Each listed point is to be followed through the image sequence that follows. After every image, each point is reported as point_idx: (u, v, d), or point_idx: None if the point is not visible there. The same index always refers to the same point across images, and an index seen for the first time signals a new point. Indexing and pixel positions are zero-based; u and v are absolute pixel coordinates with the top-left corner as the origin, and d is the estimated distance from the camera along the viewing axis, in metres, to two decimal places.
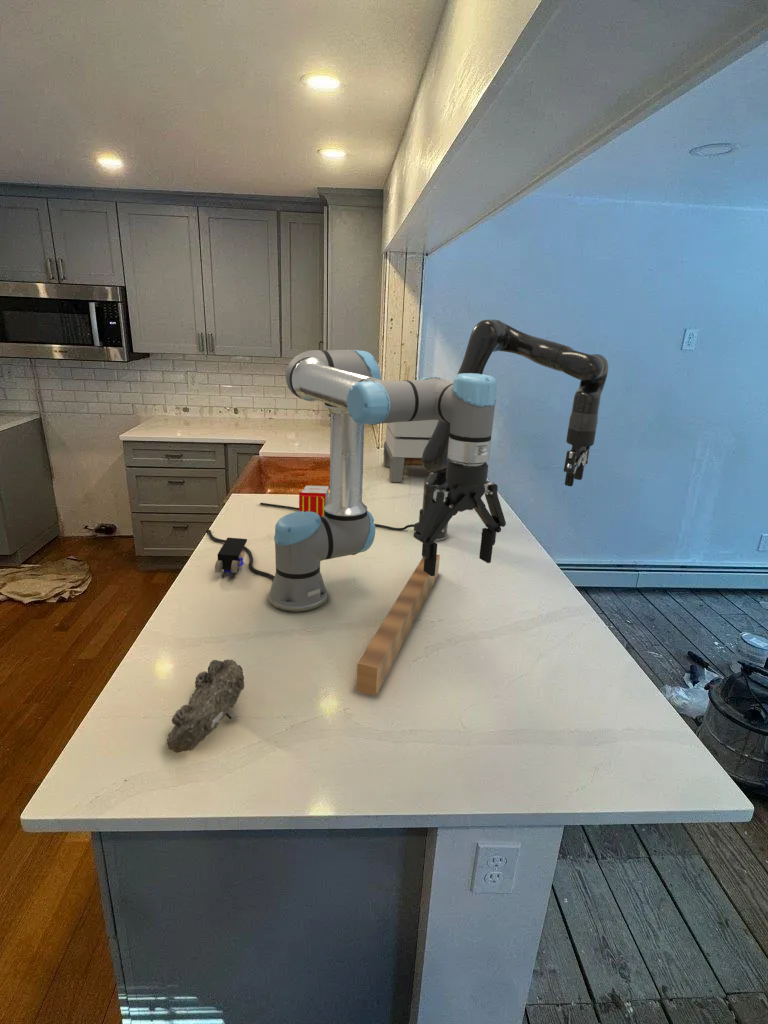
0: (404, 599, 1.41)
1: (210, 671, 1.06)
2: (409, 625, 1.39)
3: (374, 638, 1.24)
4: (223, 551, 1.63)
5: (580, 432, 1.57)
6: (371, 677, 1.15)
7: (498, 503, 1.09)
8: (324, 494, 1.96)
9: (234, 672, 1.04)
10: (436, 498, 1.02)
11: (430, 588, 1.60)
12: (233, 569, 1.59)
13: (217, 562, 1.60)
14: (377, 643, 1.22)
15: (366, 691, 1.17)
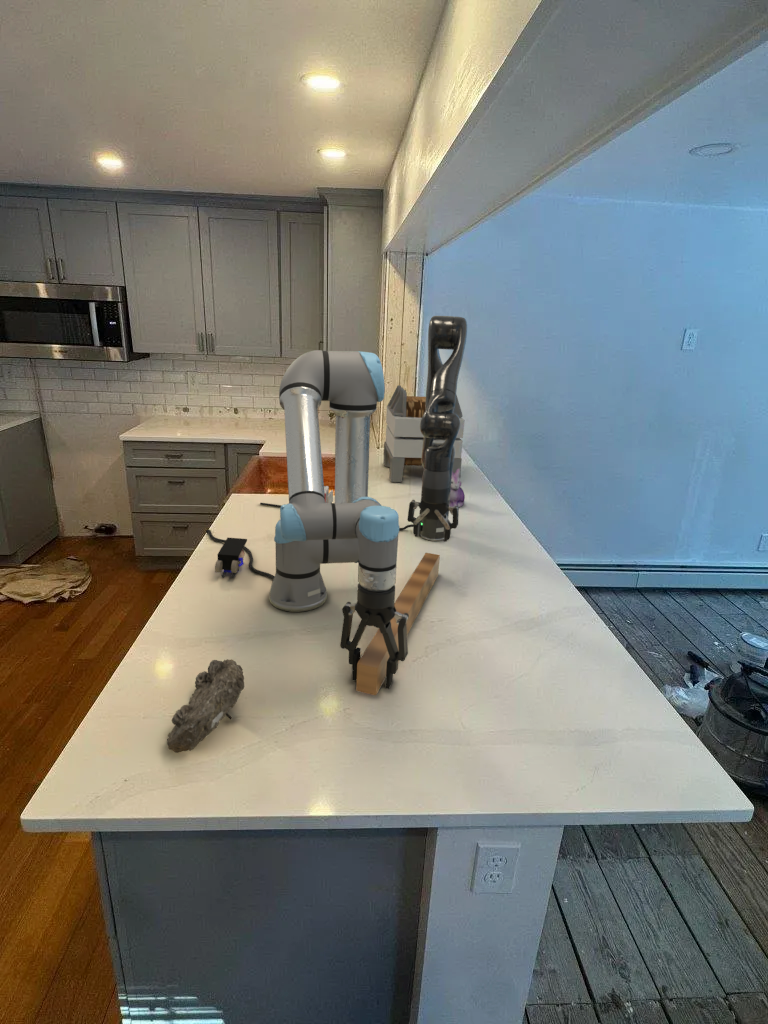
0: (404, 599, 1.41)
1: (210, 671, 1.06)
2: (409, 625, 1.39)
3: (374, 638, 1.24)
4: (223, 551, 1.63)
5: (448, 487, 1.57)
6: (371, 677, 1.15)
7: (402, 637, 1.13)
8: None
9: (234, 672, 1.04)
10: None
11: (430, 588, 1.60)
12: (233, 569, 1.59)
13: (217, 562, 1.60)
14: (377, 643, 1.22)
15: (366, 691, 1.17)
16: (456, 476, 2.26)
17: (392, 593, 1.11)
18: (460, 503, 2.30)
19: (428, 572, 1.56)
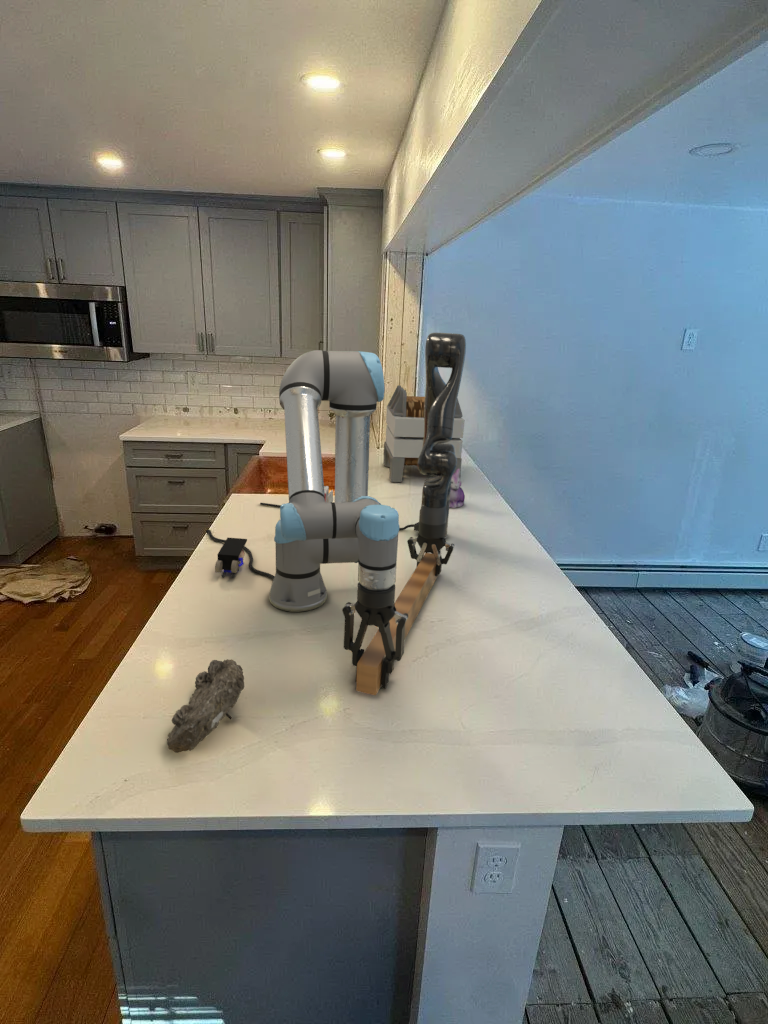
0: (404, 599, 1.41)
1: (210, 671, 1.06)
2: (409, 625, 1.39)
3: (374, 638, 1.24)
4: (223, 551, 1.63)
5: (445, 522, 1.60)
6: (371, 677, 1.15)
7: (400, 637, 1.13)
8: None
9: (234, 672, 1.04)
10: None
11: (430, 588, 1.60)
12: (233, 569, 1.59)
13: (217, 562, 1.60)
14: (377, 643, 1.22)
15: (366, 691, 1.17)
16: (456, 476, 2.26)
17: (392, 592, 1.11)
18: (460, 503, 2.30)
19: (428, 572, 1.56)
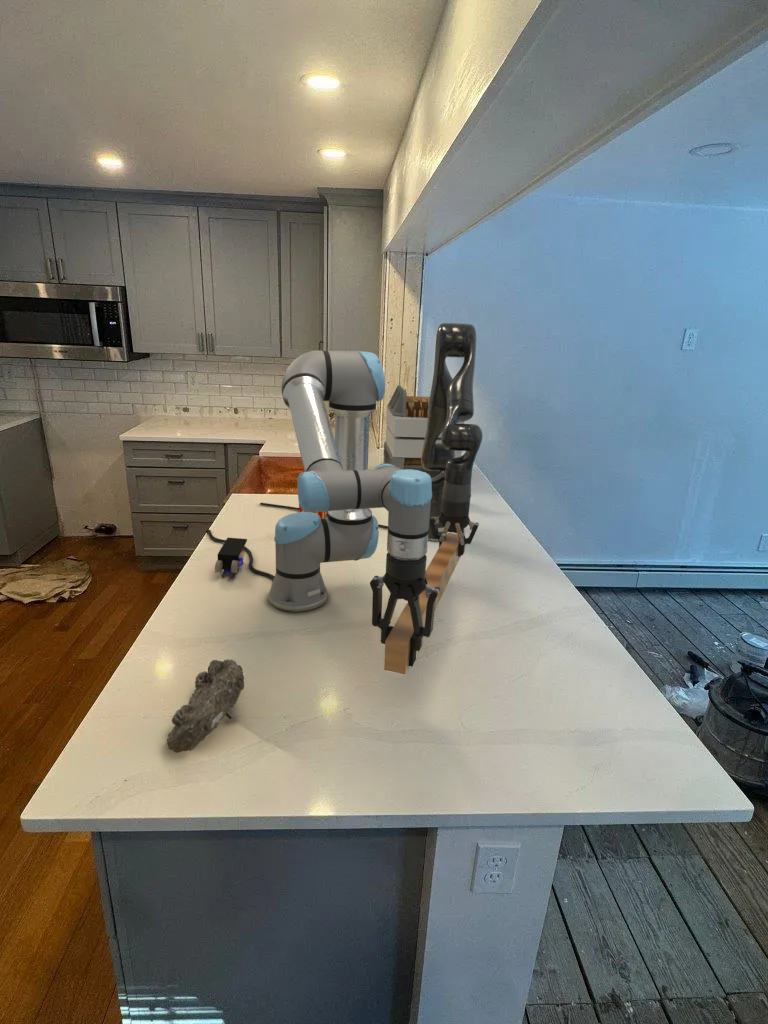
0: (429, 578, 1.34)
1: (210, 671, 1.06)
2: (435, 604, 1.32)
3: (401, 615, 1.17)
4: (223, 551, 1.63)
5: None
6: (400, 655, 1.08)
7: (430, 611, 1.06)
8: None
9: (234, 672, 1.04)
10: None
11: (453, 569, 1.54)
12: (233, 569, 1.59)
13: (217, 562, 1.60)
14: (405, 621, 1.15)
15: (395, 670, 1.10)
16: None
17: (424, 563, 1.04)
18: None
19: (452, 551, 1.50)
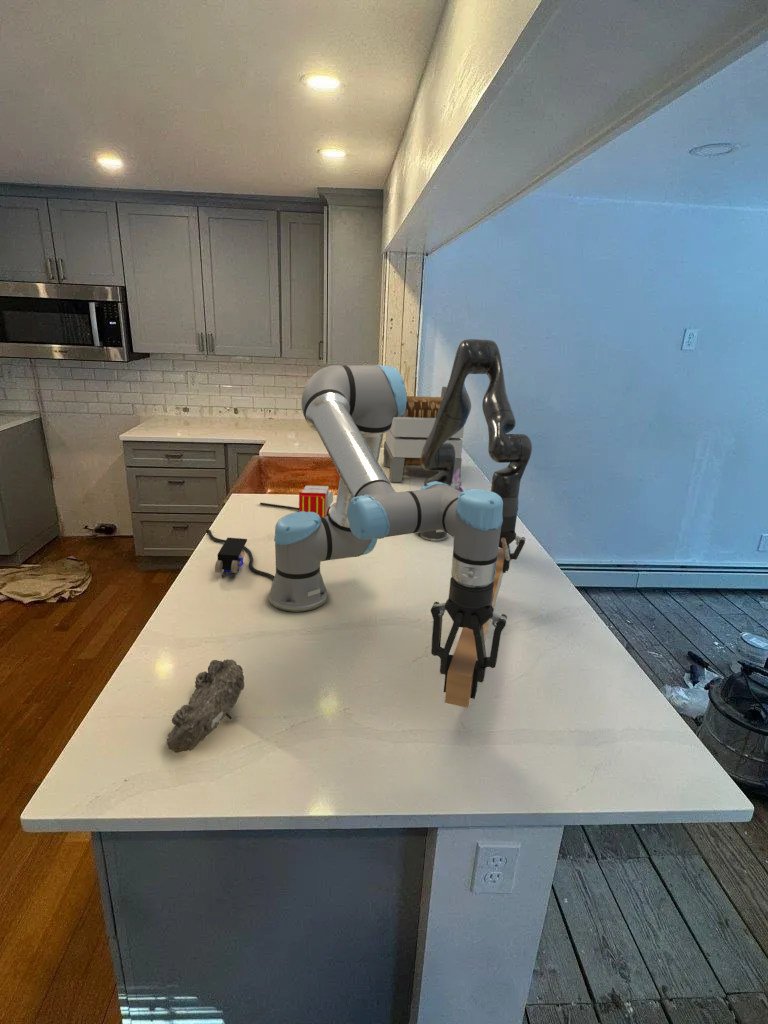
0: None
1: (210, 671, 1.06)
2: (488, 627, 1.25)
3: (459, 642, 1.10)
4: (223, 551, 1.63)
5: None
6: (464, 687, 1.01)
7: (497, 641, 0.99)
8: (324, 494, 1.96)
9: (234, 672, 1.04)
10: None
11: (499, 586, 1.46)
12: (233, 569, 1.59)
13: (217, 562, 1.60)
14: (465, 648, 1.08)
15: (456, 703, 1.02)
16: (456, 476, 2.26)
17: (492, 590, 0.97)
18: None
19: (499, 568, 1.42)
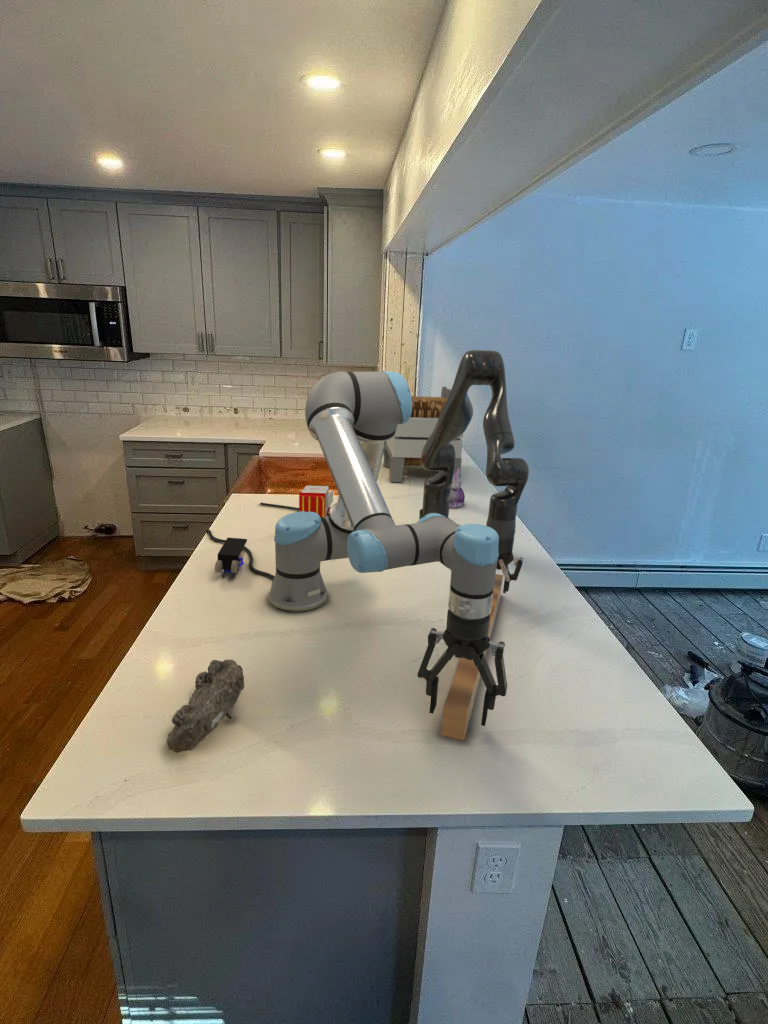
0: None
1: (210, 671, 1.06)
2: None
3: (456, 674, 1.13)
4: (223, 551, 1.63)
5: None
6: (460, 721, 1.04)
7: (500, 669, 1.01)
8: (324, 494, 1.96)
9: (234, 672, 1.04)
10: None
11: (496, 612, 1.49)
12: (233, 569, 1.59)
13: (217, 562, 1.60)
14: (461, 681, 1.11)
15: (453, 736, 1.05)
16: (456, 476, 2.26)
17: (488, 622, 0.99)
18: (460, 503, 2.30)
19: (496, 595, 1.45)
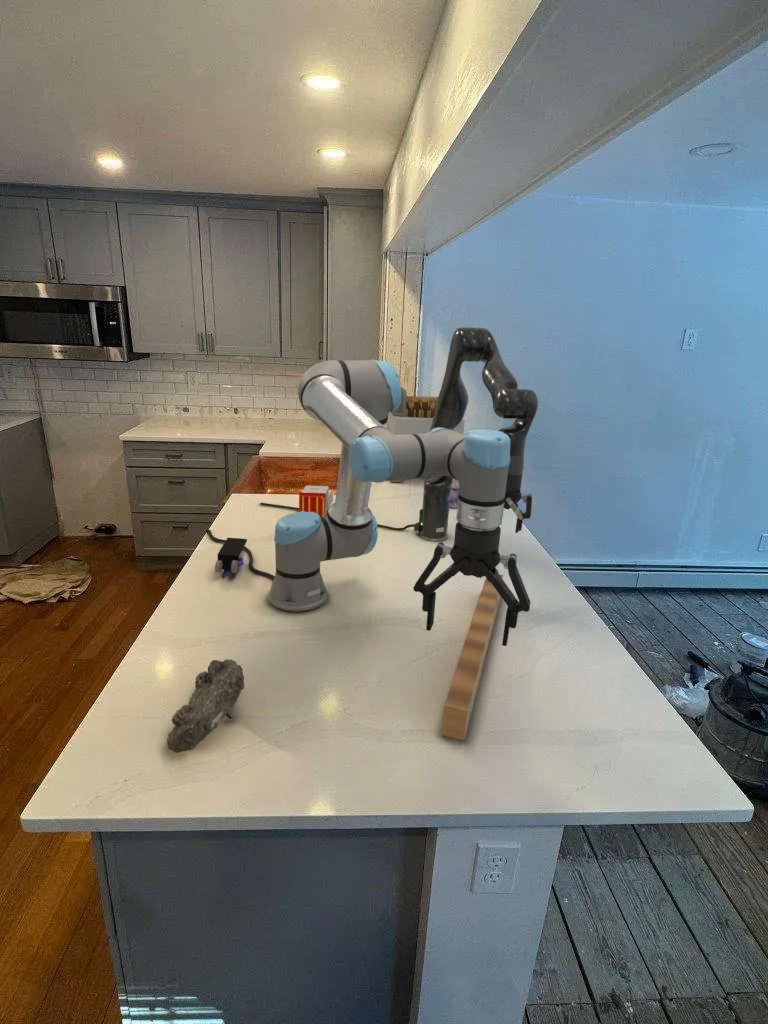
0: (477, 628, 1.30)
1: (210, 671, 1.06)
2: (484, 656, 1.28)
3: (456, 674, 1.13)
4: (223, 551, 1.63)
5: (522, 473, 1.42)
6: (460, 721, 1.04)
7: (517, 582, 0.94)
8: (324, 494, 1.96)
9: (234, 672, 1.04)
10: None
11: (496, 612, 1.49)
12: (233, 569, 1.59)
13: (217, 562, 1.60)
14: (461, 681, 1.11)
15: (453, 736, 1.05)
16: None
17: (499, 534, 0.93)
18: None
19: (496, 595, 1.45)
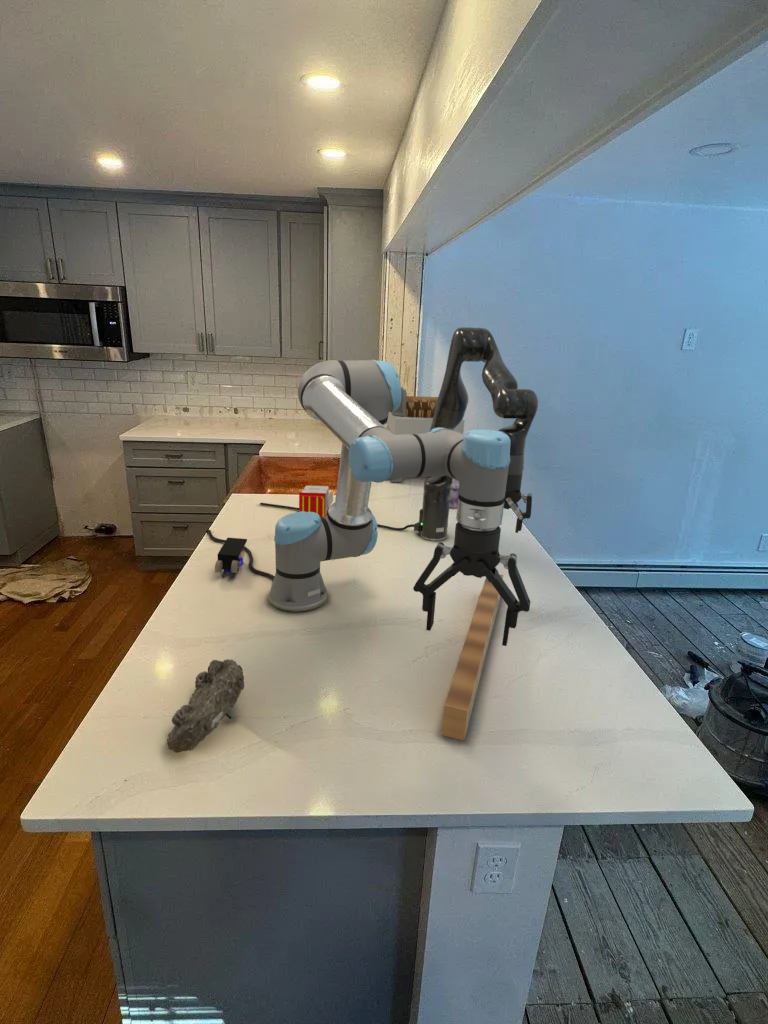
0: (477, 628, 1.30)
1: (210, 671, 1.06)
2: (484, 656, 1.28)
3: (456, 674, 1.13)
4: (223, 551, 1.63)
5: (522, 473, 1.42)
6: (460, 721, 1.04)
7: (517, 582, 0.94)
8: (324, 494, 1.96)
9: (234, 672, 1.04)
10: None
11: (496, 612, 1.49)
12: (233, 569, 1.59)
13: (217, 562, 1.60)
14: (461, 681, 1.11)
15: (453, 736, 1.05)
16: None
17: (499, 534, 0.93)
18: None
19: (496, 595, 1.45)
